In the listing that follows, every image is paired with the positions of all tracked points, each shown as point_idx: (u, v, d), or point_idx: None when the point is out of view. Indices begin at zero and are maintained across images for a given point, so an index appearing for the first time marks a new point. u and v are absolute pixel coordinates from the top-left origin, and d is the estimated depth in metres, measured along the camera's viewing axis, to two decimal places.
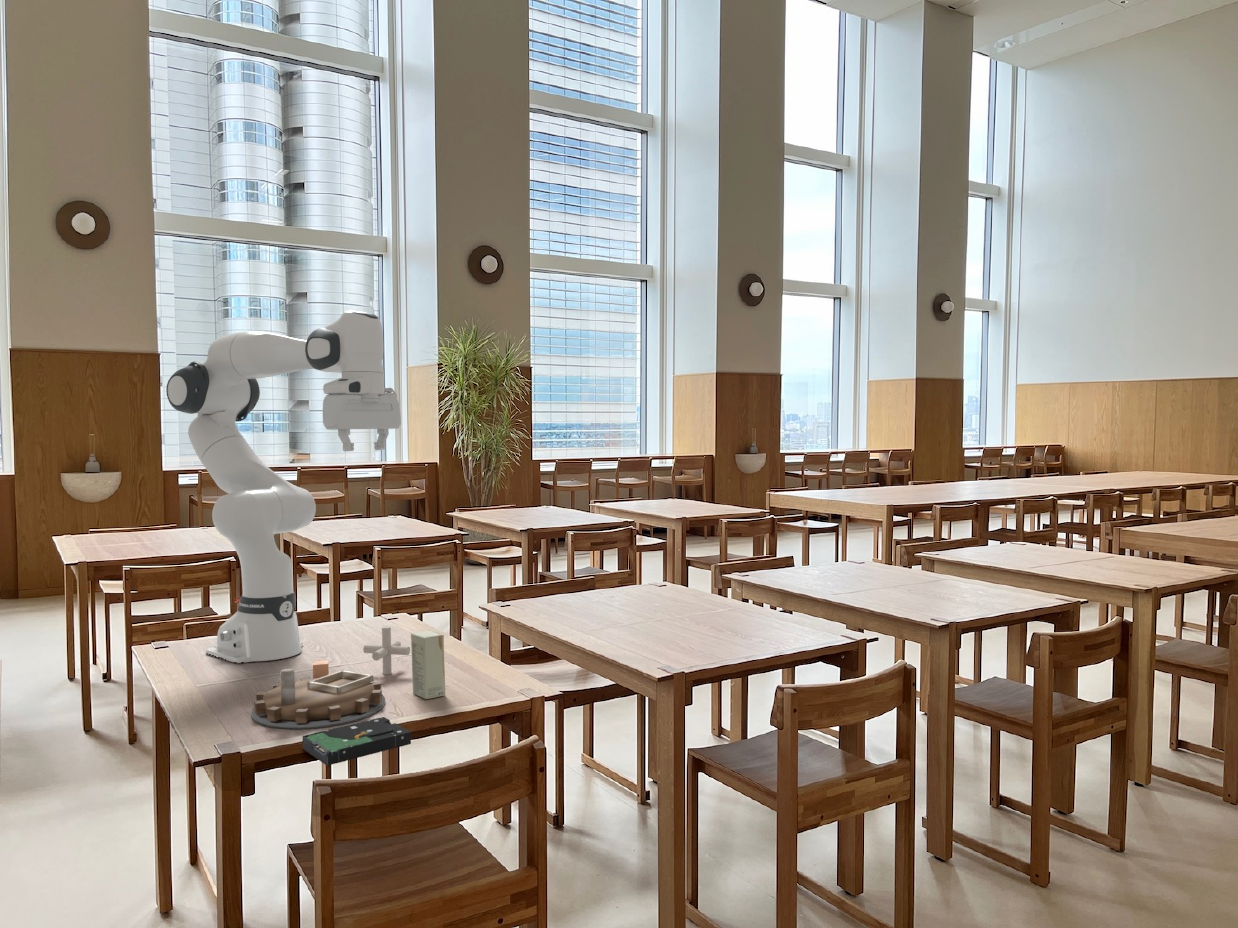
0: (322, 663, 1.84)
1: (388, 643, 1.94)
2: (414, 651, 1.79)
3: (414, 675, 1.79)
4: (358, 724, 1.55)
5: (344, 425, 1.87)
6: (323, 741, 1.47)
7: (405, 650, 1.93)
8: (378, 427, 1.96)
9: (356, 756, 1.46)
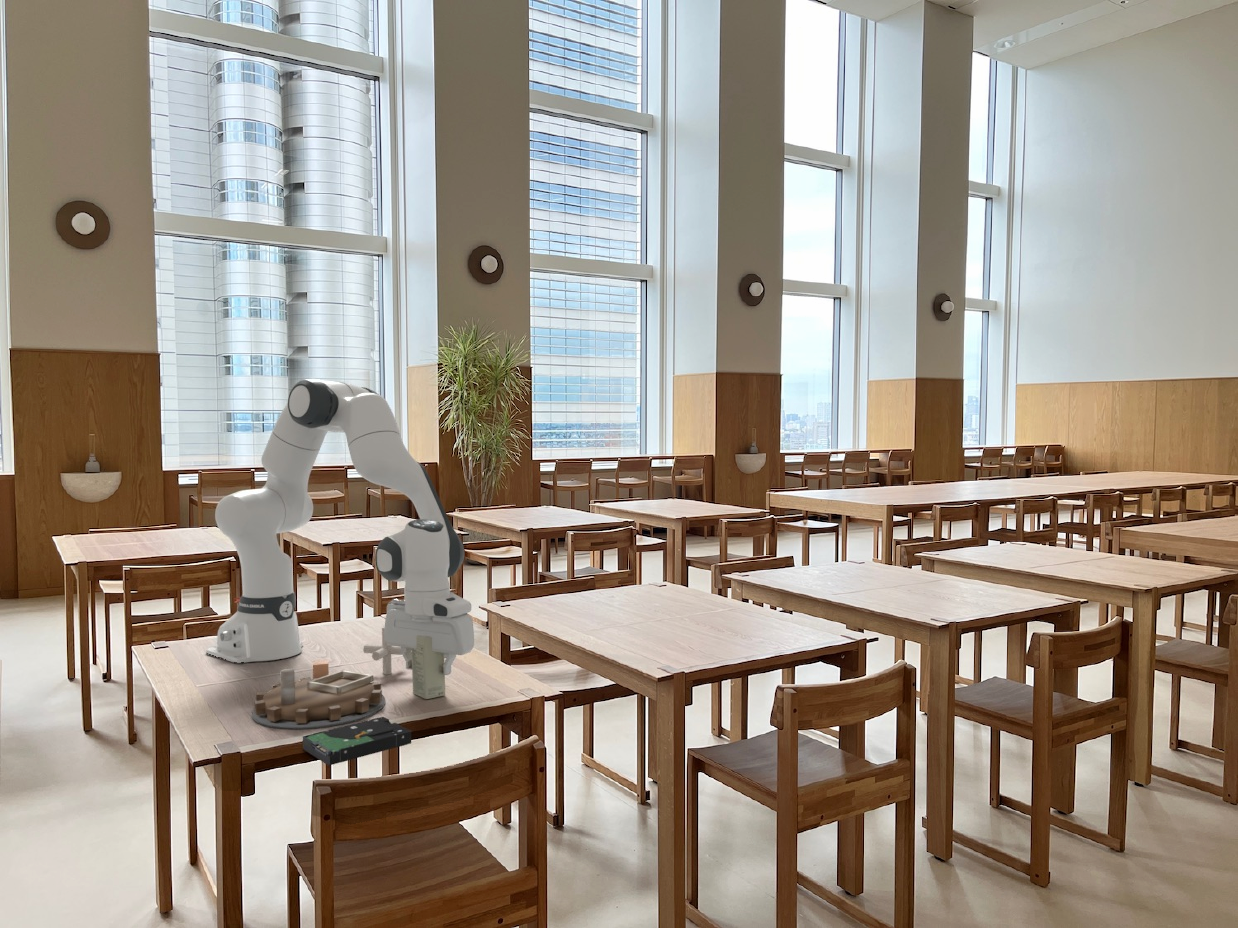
0: (322, 663, 1.84)
1: None
2: (414, 651, 1.79)
3: (414, 675, 1.79)
4: (358, 724, 1.55)
5: None
6: (323, 741, 1.47)
7: None
8: None
9: (357, 756, 1.46)
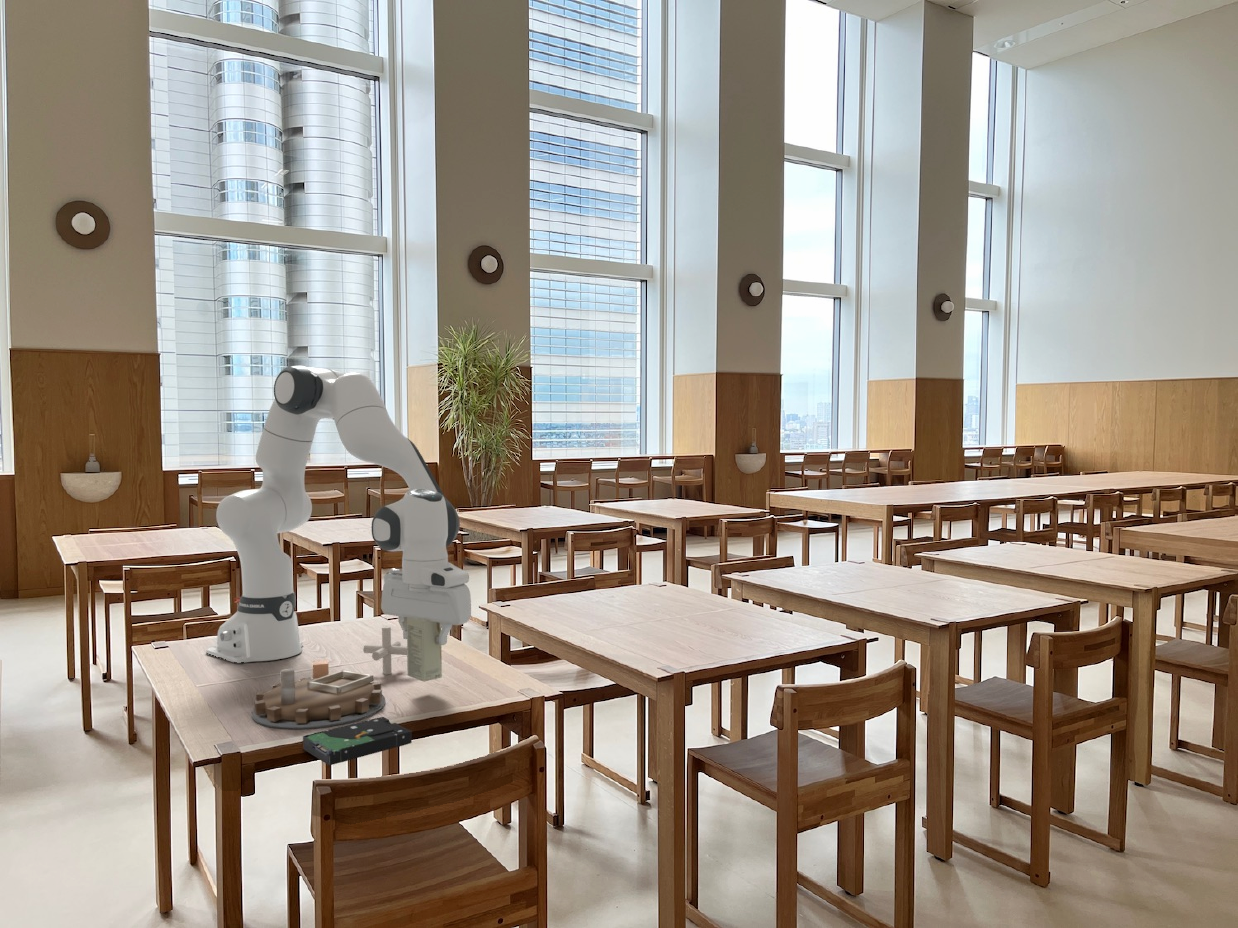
0: (322, 663, 1.84)
1: (388, 643, 1.94)
2: (410, 633, 1.78)
3: (410, 658, 1.79)
4: (358, 724, 1.55)
5: None
6: (324, 741, 1.47)
7: (405, 650, 1.93)
8: None
9: (358, 755, 1.46)
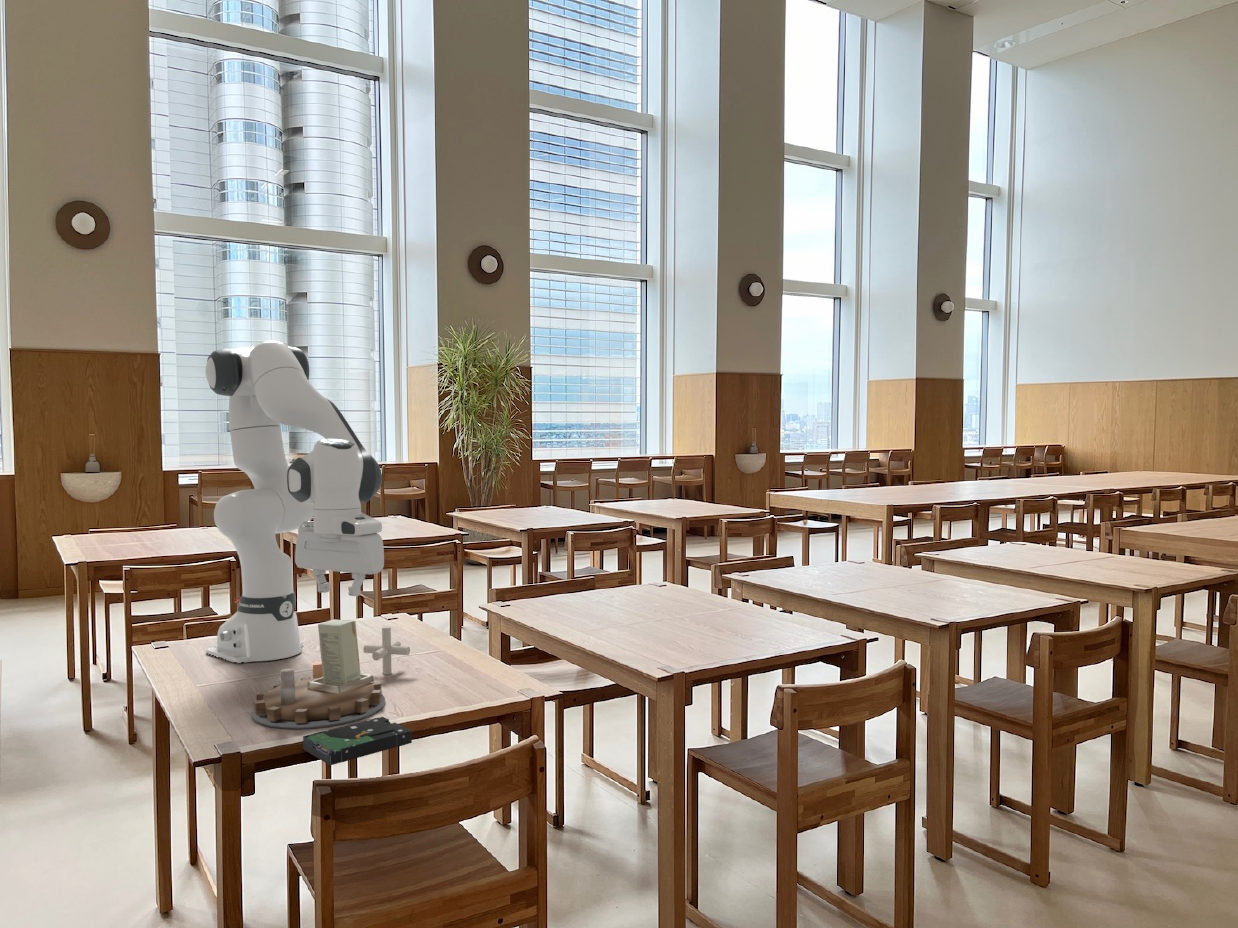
0: None
1: (388, 643, 1.94)
2: (323, 641, 1.75)
3: (325, 666, 1.75)
4: (358, 724, 1.56)
5: None
6: (324, 741, 1.47)
7: (405, 650, 1.93)
8: None
9: (358, 755, 1.46)
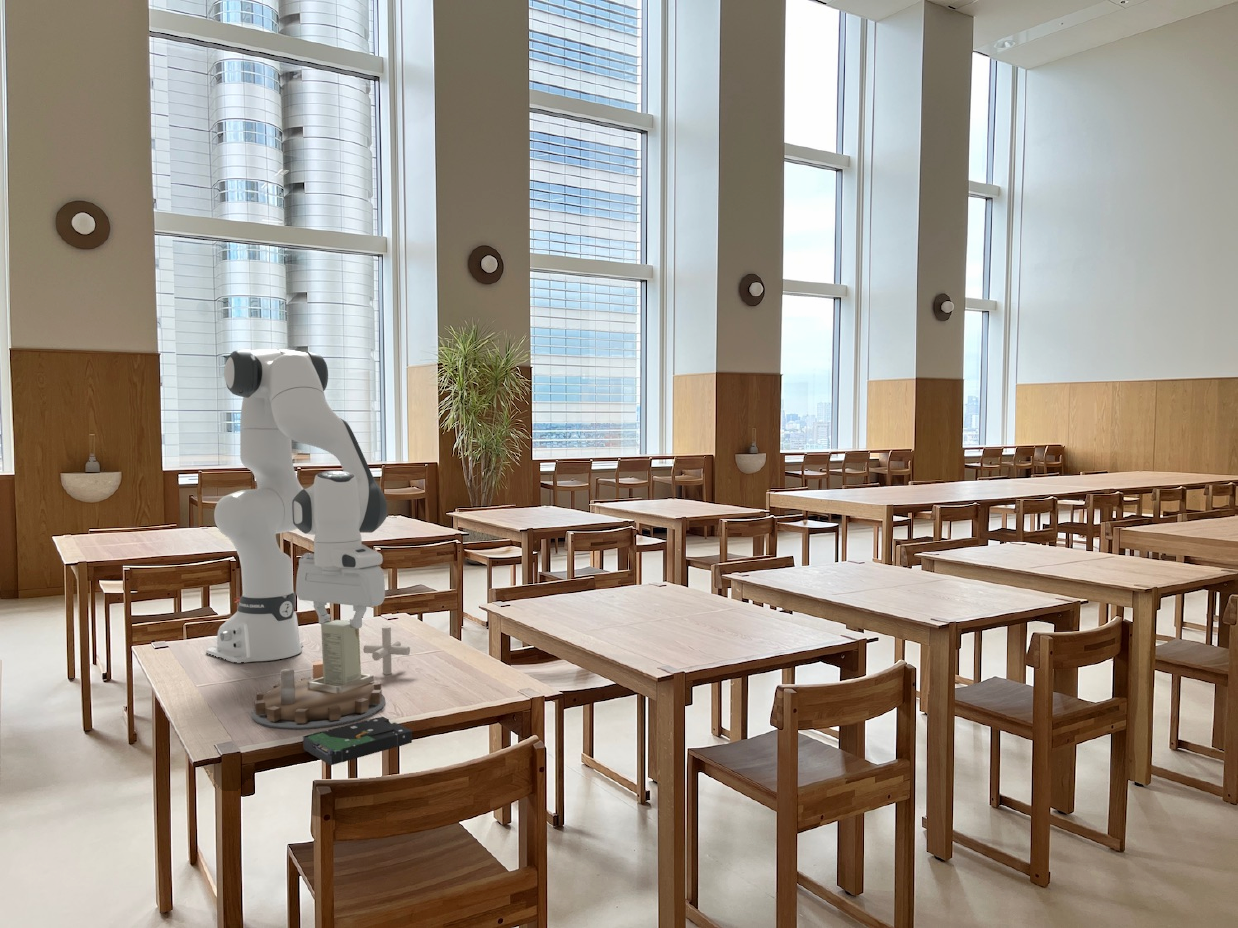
0: (322, 663, 1.84)
1: (388, 643, 1.94)
2: (326, 641, 1.75)
3: (326, 666, 1.75)
4: (358, 724, 1.56)
5: None
6: (324, 741, 1.47)
7: (405, 650, 1.93)
8: None
9: (359, 755, 1.46)
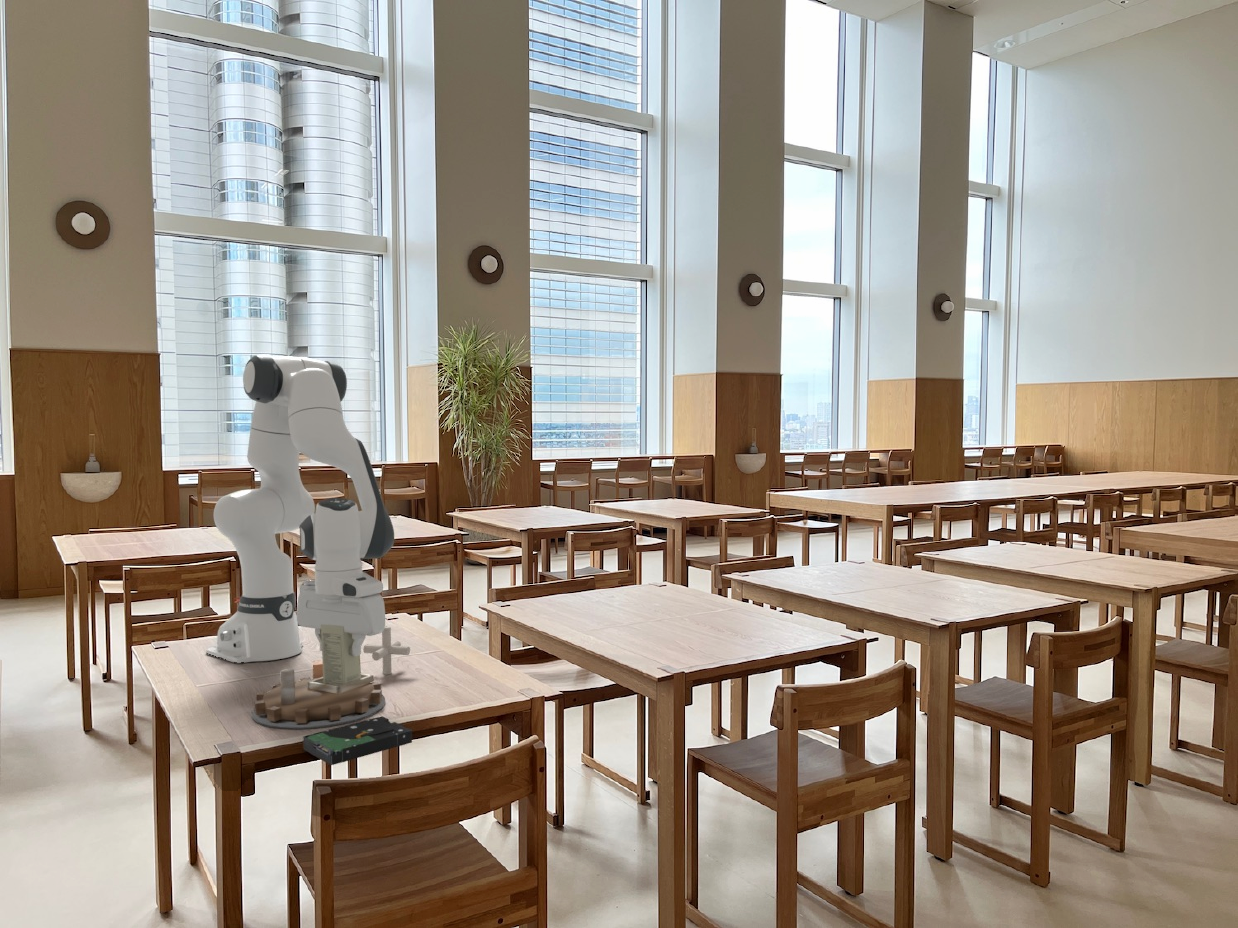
0: (322, 663, 1.84)
1: (388, 643, 1.94)
2: (326, 641, 1.75)
3: (326, 666, 1.75)
4: (357, 724, 1.56)
5: None
6: (325, 741, 1.47)
7: (405, 650, 1.93)
8: None
9: (359, 755, 1.46)
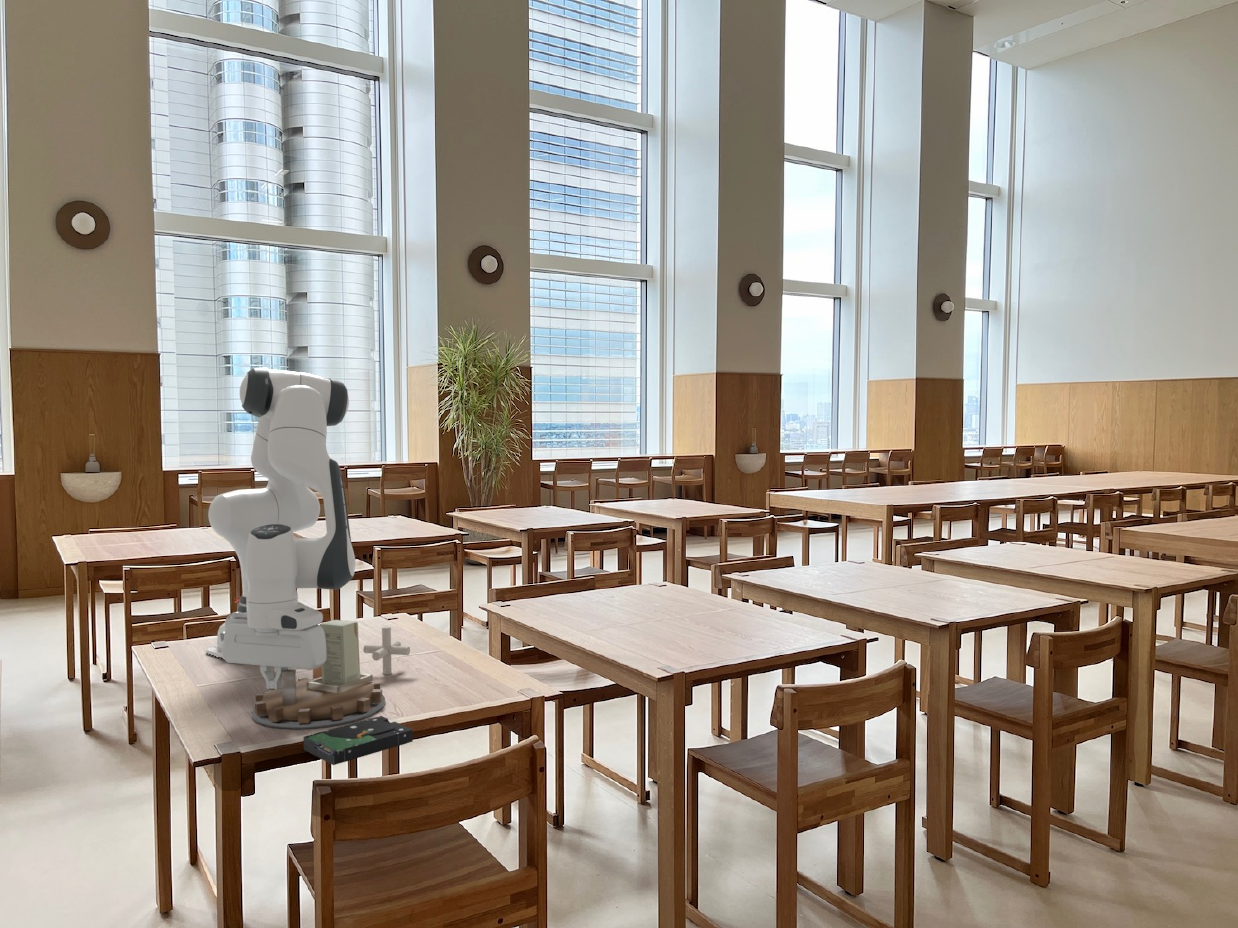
0: None
1: (388, 643, 1.94)
2: None
3: (325, 666, 1.75)
4: (357, 723, 1.56)
5: None
6: (326, 741, 1.47)
7: (405, 650, 1.93)
8: None
9: (361, 755, 1.46)
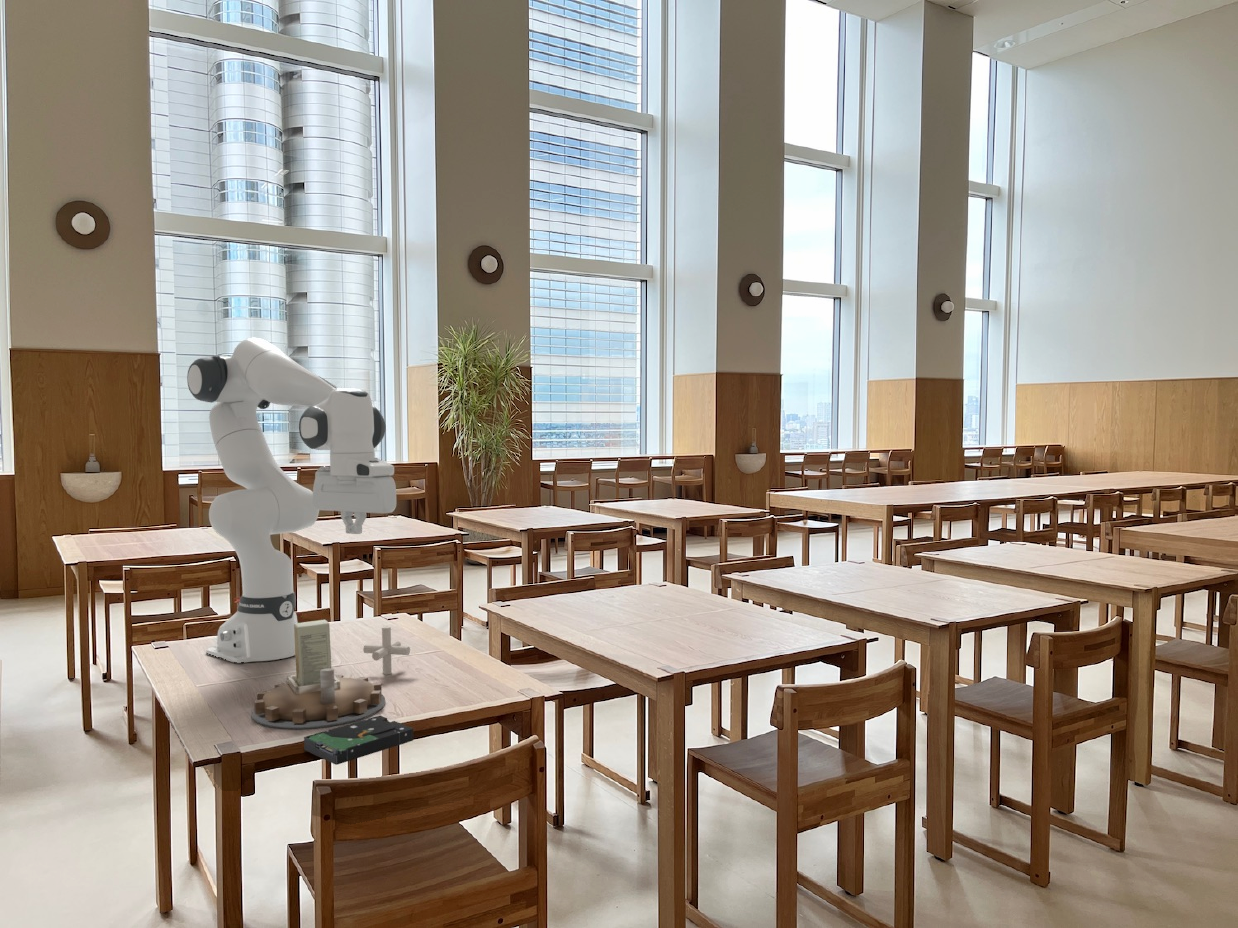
0: None
1: (388, 643, 1.94)
2: (305, 643, 1.73)
3: (305, 669, 1.73)
4: (357, 723, 1.56)
5: None
6: (327, 741, 1.47)
7: (405, 650, 1.93)
8: None
9: (363, 754, 1.46)
